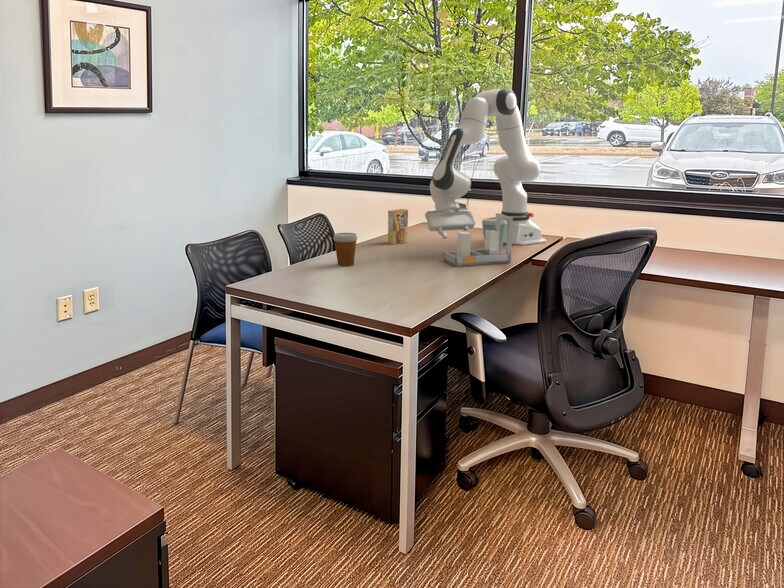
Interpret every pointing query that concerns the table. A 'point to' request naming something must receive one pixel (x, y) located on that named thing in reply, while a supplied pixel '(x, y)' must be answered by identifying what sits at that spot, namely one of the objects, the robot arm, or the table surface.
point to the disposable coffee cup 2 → (490, 225)
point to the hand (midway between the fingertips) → (455, 237)
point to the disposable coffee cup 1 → (345, 248)
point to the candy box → (397, 226)
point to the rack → (486, 248)
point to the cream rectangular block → (463, 244)
